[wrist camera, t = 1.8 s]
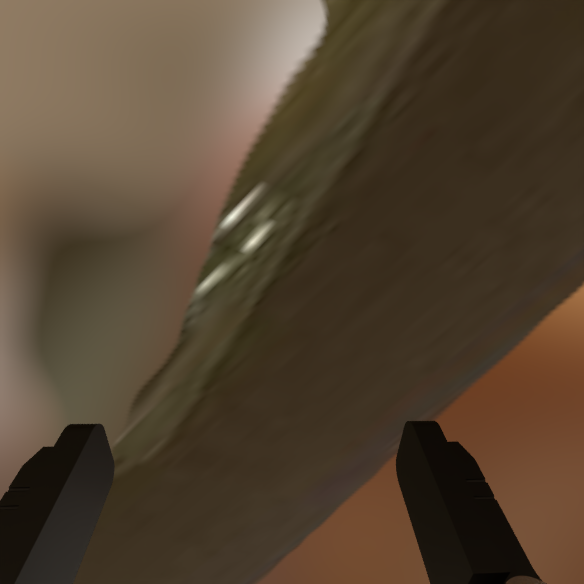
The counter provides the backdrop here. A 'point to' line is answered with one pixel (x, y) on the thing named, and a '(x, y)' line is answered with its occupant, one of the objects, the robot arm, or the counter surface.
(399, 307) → the counter surface
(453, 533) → the robot arm
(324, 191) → the counter surface
